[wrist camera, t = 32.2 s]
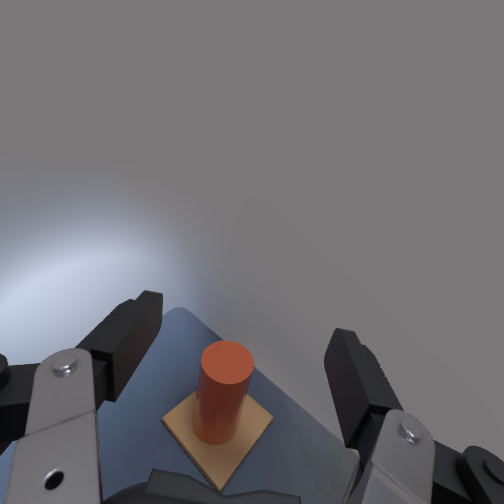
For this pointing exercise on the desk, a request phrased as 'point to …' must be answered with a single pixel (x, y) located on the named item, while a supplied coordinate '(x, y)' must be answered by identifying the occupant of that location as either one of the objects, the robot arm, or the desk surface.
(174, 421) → the plate
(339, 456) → the desk surface
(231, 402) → the glossy red cylinder
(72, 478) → the robot arm
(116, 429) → the desk surface
